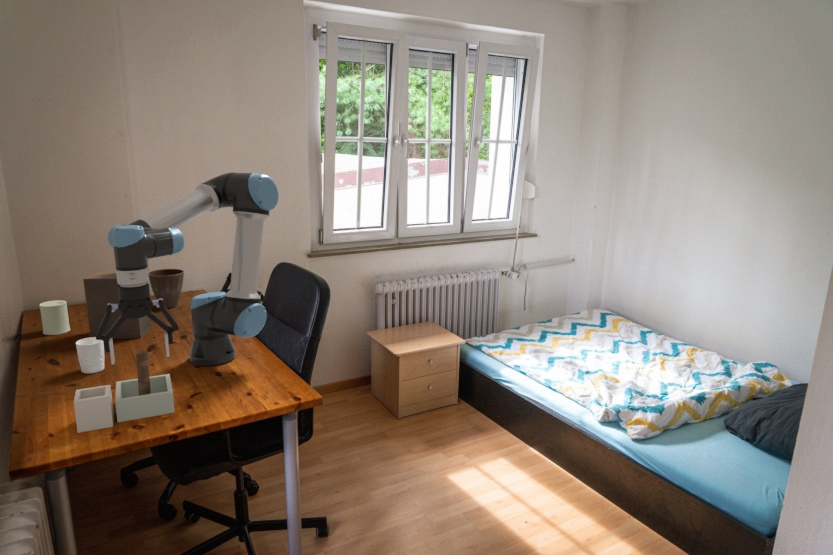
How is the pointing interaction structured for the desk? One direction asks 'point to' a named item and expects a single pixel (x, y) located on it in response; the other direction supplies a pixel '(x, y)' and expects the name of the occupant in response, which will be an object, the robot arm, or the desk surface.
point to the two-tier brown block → (97, 297)
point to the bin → (144, 399)
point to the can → (54, 317)
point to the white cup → (90, 354)
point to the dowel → (143, 373)
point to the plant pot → (167, 285)
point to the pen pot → (93, 408)
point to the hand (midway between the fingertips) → (141, 359)
